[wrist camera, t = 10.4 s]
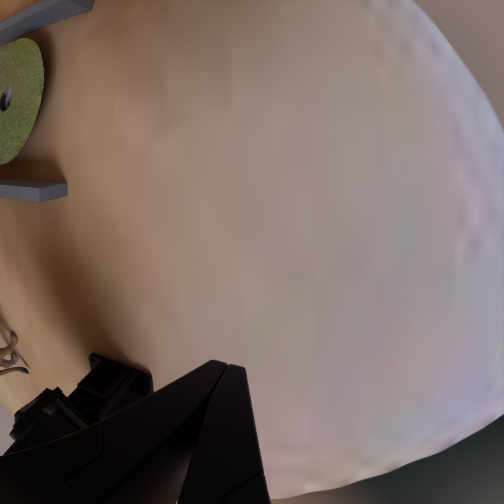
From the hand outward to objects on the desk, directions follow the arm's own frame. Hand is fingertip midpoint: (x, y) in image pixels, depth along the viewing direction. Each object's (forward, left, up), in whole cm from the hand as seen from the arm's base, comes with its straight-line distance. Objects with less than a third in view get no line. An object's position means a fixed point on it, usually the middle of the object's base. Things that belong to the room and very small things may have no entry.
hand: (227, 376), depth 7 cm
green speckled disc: (+9, +24, -12) cm, 28 cm away
